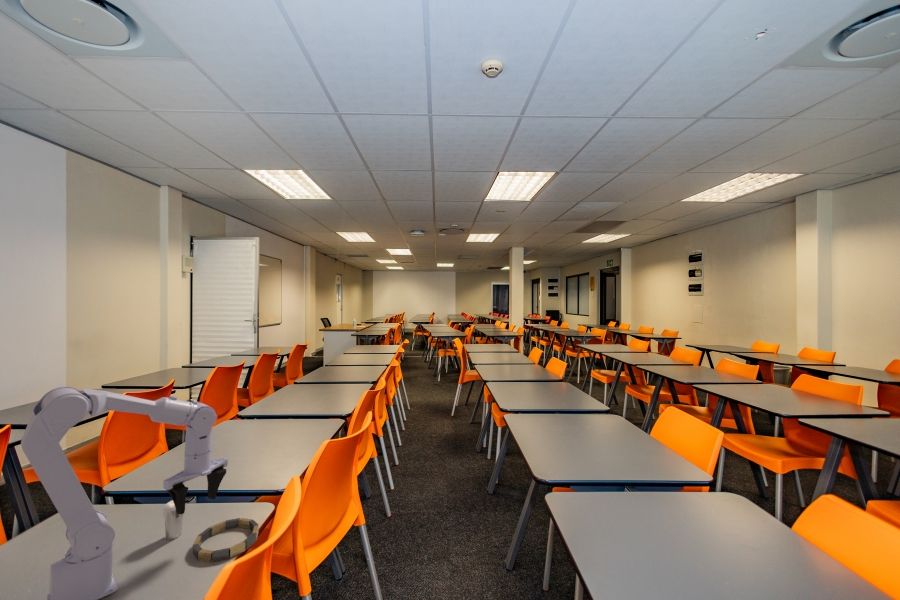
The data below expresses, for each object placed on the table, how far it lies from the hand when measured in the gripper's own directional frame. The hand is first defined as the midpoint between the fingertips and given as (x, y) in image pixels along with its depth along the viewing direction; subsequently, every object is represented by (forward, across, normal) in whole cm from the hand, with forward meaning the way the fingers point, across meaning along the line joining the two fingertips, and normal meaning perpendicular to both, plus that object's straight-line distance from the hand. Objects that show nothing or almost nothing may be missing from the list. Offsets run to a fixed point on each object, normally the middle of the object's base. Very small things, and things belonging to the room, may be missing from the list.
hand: (196, 505), depth 92 cm
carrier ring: (+10, +4, -6) cm, 13 cm away
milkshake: (+10, 0, +9) cm, 13 cm away
